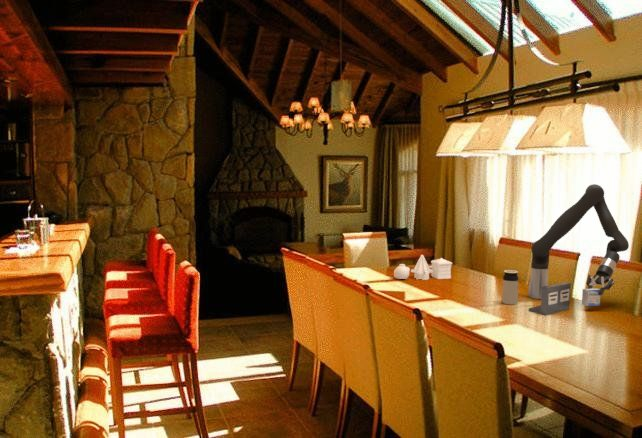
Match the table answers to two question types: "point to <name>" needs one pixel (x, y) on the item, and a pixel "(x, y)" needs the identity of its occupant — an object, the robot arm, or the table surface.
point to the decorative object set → (425, 269)
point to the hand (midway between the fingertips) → (594, 293)
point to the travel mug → (510, 287)
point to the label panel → (553, 299)
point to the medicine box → (591, 297)
